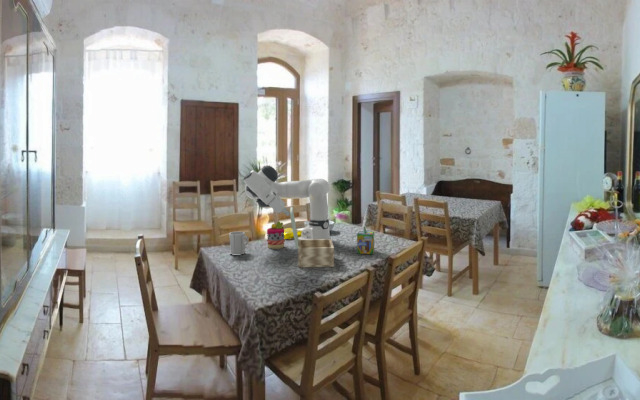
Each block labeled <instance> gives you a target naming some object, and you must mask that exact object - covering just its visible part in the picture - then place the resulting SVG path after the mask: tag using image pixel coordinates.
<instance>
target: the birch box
mask: <svg viewBox="0 0 640 400" xmlns="http://www.w3.org/2000/svg"><path fill="white" fill-rule="evenodd" d="M297 252H298V253H297V254H298V257H297V258H298V265H297V266H298V268H332V267H335V247H334V244H333V240H332V238H331V239H308V240H298V248H297Z"/></svg>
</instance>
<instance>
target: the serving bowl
mask: <svg viewBox="0 0 640 400" xmlns="http://www.w3.org/2000/svg"><path fill="white" fill-rule="evenodd" d="M308 221H309V220H306V221H304V222H303V224H304V228H305V227H307V226H308V225H309V222H308ZM328 227H329V232H330V231H332V230H333V229H334V227H335V221H332V220H329V225H328Z"/></svg>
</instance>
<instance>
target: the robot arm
mask: <svg viewBox="0 0 640 400" xmlns="http://www.w3.org/2000/svg"><path fill="white" fill-rule="evenodd" d="M278 179H279V174H278V172H277V170H276V169H275V168H274V167H273V166H271V165H263V166H262V168H261V169H260V170H259V171H258V172H257V171H255V170H250V171H249V172H247V173H246V175H244V176H243V182H244V183H245V185H244V193H245V196H246V197H248V198H249V199H250V200H256V201H255V203H257V205H258V206H259V207H260V208H261V209H272V210H274V211H275V212H276V213H278V214H281V213H283V214H284V215H285V216H287V217H290V210H288V208H286V207H285V206H286V203H285V201H284V200H293V199H294V200H295V199H297V200H298V199H305V198H308V199H309V200H308V201H309V205H310V206H309V207H310V219H308V220H307V221H308V222H309V225H308V226H307V227H305V226H304V228H303V229H302V233H301V237H298V240H308V239H331V240H332V237H331V234H330V231H329V227H328V225H329V221H330V219H329V204H328V198H327V197H328V195H327V194H328V193H329V192H330V184H329V181H327V180H326V179H324V178H313V179H305V180H291V181H282V182H276V181H278Z"/></svg>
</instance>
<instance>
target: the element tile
mask: <svg viewBox="0 0 640 400" xmlns="http://www.w3.org/2000/svg"><path fill="white" fill-rule="evenodd" d="M283 229H284V239H289V240H291V239H290V238H294V235H293V229H292V227H286V228H283ZM302 230H303V229H302ZM302 230H301V229H297V235H298V237H301V233H302Z"/></svg>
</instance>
